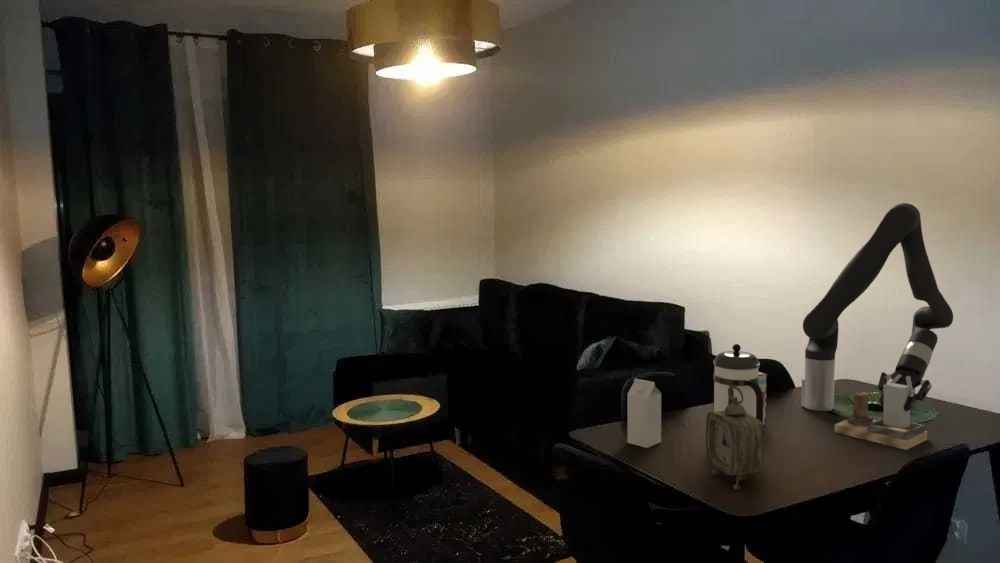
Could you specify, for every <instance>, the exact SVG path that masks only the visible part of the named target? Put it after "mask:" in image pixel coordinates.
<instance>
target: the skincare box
mask: <svg viewBox="0 0 1000 563" xmlns="http://www.w3.org/2000/svg"><path fill="white" fill-rule="evenodd" d="M909 391H910V386H907V385H901V384H895V383H890V382H887V384H885V385H884V406H883V417H882V418H883V424H885V425H889V426H894V427H899V428H907V427H909V426H910V422H911V410H909V411H905V410H904V405H905V402H906V400H907V398H908V397H909Z"/></svg>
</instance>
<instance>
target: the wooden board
mask: <svg viewBox="0 0 1000 563" xmlns="http://www.w3.org/2000/svg"><path fill="white" fill-rule="evenodd" d="M869 396H870V394H868V393H863V392H856V393H854V394H853V403H852V404H853V407H852V408H853V409H852V410H853V412H852V414H850V415H848V416H847V419H844V420H841V421H840V422H838V423H834V433H837V434H839V435H845V436H847V437H848V436H849V437H852V438H857V439H861V440H864V439H865V440H864V441H869V442H872V443H876V442H877V443H876V444H880V443H881V444H880V445H885V446H888V447H893V448H897V449H901V450H905V451H907V450H909V449H911V448H913V447H915V446H917V445H919V444H921V443H923V442H925V441H927V440H928V431H927V430H925V428H926V426H925V424H920V423H915V422H911V421H910V426H909V427H907V428H899V427H894V426H889V425H885V424H883V417H882V418H879V419H875V418H874V417H873V416H871V415H869Z"/></svg>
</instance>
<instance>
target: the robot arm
mask: <svg viewBox="0 0 1000 563" xmlns="http://www.w3.org/2000/svg"><path fill="white" fill-rule="evenodd" d="M921 221H922V220H921V213H920V211H919V209H918V208H917V207H916V206H914V204H911V203H906V202H902V203H898V204H895V205H894V206H891V207H890V208H889V209H888V210H887V211H886V212H885V213H884V216H883V217H882V219H881V220H880V222H879V223H878V226H877V228H876V229H875V231H874V232H873V234H872V235H871V236H870V238H869V239H868V240H867V241H866V242H865V244H863V245H862V246H861V247H860V249H859V250H858V251H857V252H856V253H855V254H854V255H853V256H852V258H850V260H849V261H848V263H847V264H846V265H845V266H844V268H843V269H842V270H841V272H840V273H839V275H838V276H837V278H836V279H835V280H834V282H833V283H832V285H831V287H830V288H829V290H828V291H827V293H826V294H825V295H824V296H823V298H822V299H821V300H820V301H819V303H818V304H816V306H814V308H812V310H810V312H809V313H807V315H806V316H804V319H803V321H802V330H803V332H804V334H805V336H807V337H808V338H809V339H808V341H807V345H806V347H805V351H804V377H803V378H802V379H801V396H800V400H801V401H800V402H801V403H800V406H801V407H804V408H805V409H807V410H811V411H815V412H829V411H832V409H833V410H834V405H835V403H834V402H835V400H834V399H835V374H836V373H835V368H836V353H837V349H838V342H839V340H838V339H839V318H840V316H841V315H842V313H843V312H844V311H845V310H846V309H847V308H848V307H849V306H850V305H851V304H853V303H854V302H855V301H856V300H857V299H858V298H859V297H861V295H862V294H863V293H864V292H865V291H866V290H867V289H868V288H869V287H870V286H871V284H872V283H873V282H874V281H875V280H876V279H877V277H878V275H879V274H880V273H881V271H882V269H883V267H884V266H885V263H886V262H887V260H888V258H889V256H890V255H891V253H892V251H893V250H894V249H895V248H896V247H897V246H898V245H899V244H900V245H901V249H902V253H903V258H904V264H905V270H906V275H907V276H906V277H907V281H908V283H909V287H910V290H911V293H912V297H913V298H914V299H915V300H917V301H922V302H926V304H927V306H922V307H920V308H918V309H917V310H916V311H915V312H914V314H913V318H912V330H911V335H910V337H909V339H908V341H907V344H906V346H905V347H904V349H903V350H902V353H901V355H900V357H899V360H898V362H897V364H896V367H895V370H894V371H893V372H892V373H891V374H889V373H886V372H884V371H883V372H881V373H880V378H879V381H878V384H877V389H878V390H879V392H880V394H881V396H880V398H879V403H880V405H881V406H882V407H884V385H885V384H887V383H895V384H901V385H907V386H910V391H909V397H908V398H907V400H906V402H905V405H904V410H905V411H909V410H910V411H911V410H912V408H913V407H914V404H915V402H916V401H920V402H923V401H924V400H925V398H926V396H927V395H928V393H929V392H930V390H931V388H932V384H931V381H930V380H929V379H925V380H923V378H924V376H925V373H926V371H927V370H928V367H929V365H930V362H931V359H932V355H933V353H934V350H935V348H936V346H937V344H938V335H937V333H935V331H933V330H935V329H946V328H948V327H950V326H951V325H953V321H954V313H953V310H952V307H951V306H950V304H949V303H948V301H947V300H946V299H945V297H944V296H943V294H942V293H941V291H940V290H939V287H938V283H937V280H936V277H935V274H934V271H933V267H932V264H931V261H930V260H929V256H928V253H927V249H926V246H925V242H924V241H925V240H924V236H923V230H922V229H923V228H922V222H921ZM890 380H891V381H890ZM919 386H921V387H920V388H919V390H918V391H917V392H916V388H917V387H919Z"/></svg>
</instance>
